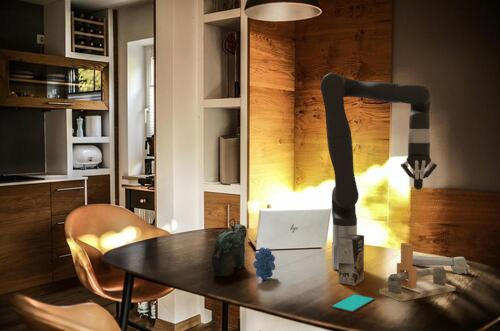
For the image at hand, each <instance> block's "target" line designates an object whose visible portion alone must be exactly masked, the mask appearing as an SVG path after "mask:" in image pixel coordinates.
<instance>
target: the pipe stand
mask: <svg viewBox="0 0 500 331" xmlns="http://www.w3.org/2000/svg"><path fill="white" fill-rule="evenodd" d="M428 276H432V278H433V279H428V280H427V279H426V280H420V281H417V287H416V288H415V289H410V288H407V287H405V286H402V285H401V280H408V272H407V271H405V272H402V273H397V272H396V273H392V274H390V275H389V276H388V280H387V281H388V282H387V286H388V287H383V288H379V289H378V293H379V294H382V295H384V296H387V297H389V298H392V299H394V300H397V301H399V302H405V301H409V300H414V299H415V300H416V299H421V298H425V297H430V296H435V295H440V294H445V293H449V292H454V291H457V290H456V288H457V287H456V286H453V285H451V284H448V283H446V282H447V270H445V266H432V267H427V268H421V269H417V278H422V277H428Z"/></svg>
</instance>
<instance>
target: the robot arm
mask: <svg viewBox="0 0 500 331" xmlns="http://www.w3.org/2000/svg"><path fill="white" fill-rule="evenodd" d="M320 92H321V96H322V101H323V106H324V112H325V128H326V140H327V148H328V154H329V158H330V162H331V164H332V167H333V173H334V187H333V189H332V192H331V216H332V217H331V218H332V242H331V266H332V269H333V271H335V270H337V271H339V238H340V237H343V236H345V235H347V234H351V235H358V217H357V212H356V211H357V210H356V204H357V203H358V201H359V200H358V199H359V197H360V196H359V189H358V186H357V181H356V177H355V170H354V169H355V168H354V149H353V136H352V132H351V127H350V123H349V120H348V116H347V114H346V109H345V98H359V99H367V100H373V101H378V102H385V103H386V102H387V103H392V104H393V103H395V104H398V103H403V104H409V105H410V114H409V118H408V120H409V121H408V122H409V123H408V126H409V127H408V135H407V137H408V138H407V157H406V161H405V162H403V163H400V167H401V168H402V170H404V172H405V174H406V175H407V176H408V178H412V179H413V188H414V189H415V190H416V191H418V190H420V191H421V190H422V189H423V187H424V186H423V185H424V183H423V182H424V179H426V178H427V179H428V178H429V177H430V175H431V174H432V173H433V172H434V170H435V169H436V168H437V166H438V165H437V164H436V163H434V162H433V161H432V159H431V157H430V155H431V134H430V133H431V131H430V126H431V124H430V122H431V120H430V107H431V92H430V90H429V89H428V88H427V87H426V86H424V85H416V84H400V83H395V82H386V81H366V80H363V81H362V80H356V79H351V78H349V77H346V76H342V75H341V74H338V73H334V72H329V73H328V74H326V75H324V76H323V78H322V79H321V82H320ZM409 167H410V168H411V169H412V172H411V170H410V168H409ZM427 167H428V168H427ZM426 168H427V170H426V171H425V169H426Z"/></svg>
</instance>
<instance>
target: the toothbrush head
mask: <svg viewBox="0 0 500 331" xmlns="http://www.w3.org/2000/svg"><path fill="white" fill-rule="evenodd" d="M413 266H435V267H438V266H443V267H445V266H446V267H447V266H449V267H450V269H452V273H453V274H457V275H462V274H465V275H466V274H469V272H470V270H469V268H470V265H469V264H467V260H466V258H465V257H464V256H455V257H447V256H446V257H445V256H444V257H443V256H433V255H432V256H430V255H416V254H413Z"/></svg>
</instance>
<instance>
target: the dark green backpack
mask: <svg viewBox="0 0 500 331" xmlns="http://www.w3.org/2000/svg"><path fill="white" fill-rule="evenodd" d="M232 220H233V222H234V224H229V226H230V228H229V229H228V228H227V229H226V228H224V229H222V230H221V231H219V232H218V234H217V237H216V239H215V240H214V244H213V248H212V253H211V265H212V269H213V276H214V277H216V276H222V275H224V276H225V272H226V264H227V262H228V259H229V258H230V257H231V258H232V264H233V267H234V266H235V267H242V266H244V267H245V262H246V261H245V257H246V256H245V254H246V246H245V242H246V237H247V232H248V231H247V227H246V226H245V225H243V224H241V223H240V221H239V220H238V221H237V223H236V220H235V218H230V219H229V220H228V223H231V221H232ZM235 267H234V268H235ZM242 268H243V267H242ZM222 277H223V276H222Z"/></svg>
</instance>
